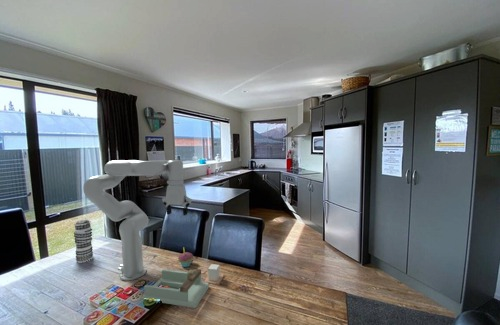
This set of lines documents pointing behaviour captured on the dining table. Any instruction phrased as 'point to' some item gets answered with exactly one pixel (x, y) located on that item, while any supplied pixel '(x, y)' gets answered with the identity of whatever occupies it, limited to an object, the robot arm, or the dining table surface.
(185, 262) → the cupcake
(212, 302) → the dining table surface
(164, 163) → the robot arm
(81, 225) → the stacked grey column
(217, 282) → the terracotta coaster
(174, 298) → the puzzle board
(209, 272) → the cream block
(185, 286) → the latch bar
